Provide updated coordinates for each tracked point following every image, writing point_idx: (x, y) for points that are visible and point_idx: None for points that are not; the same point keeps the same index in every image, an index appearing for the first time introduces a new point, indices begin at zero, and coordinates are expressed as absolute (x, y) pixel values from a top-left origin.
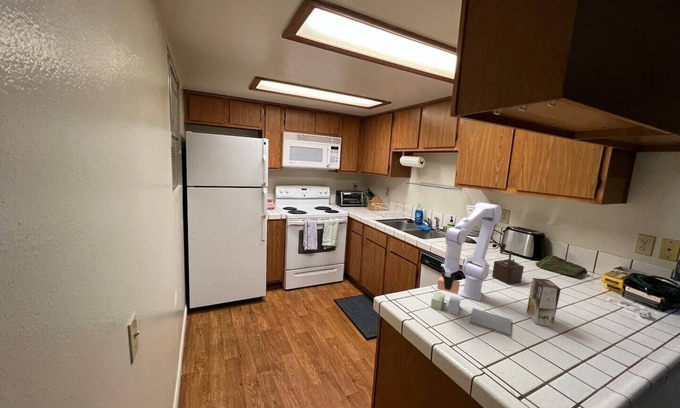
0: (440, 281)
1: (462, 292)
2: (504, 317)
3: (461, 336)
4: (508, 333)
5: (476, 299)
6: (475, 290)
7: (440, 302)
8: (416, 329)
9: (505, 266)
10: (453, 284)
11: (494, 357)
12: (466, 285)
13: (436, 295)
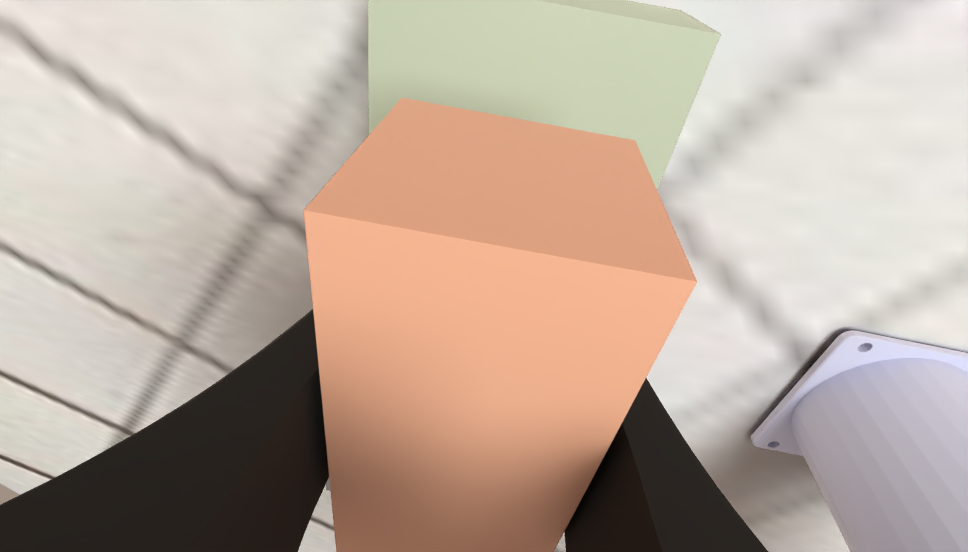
0: (321, 263)
1: (923, 351)
2: None
3: (87, 261)
4: (329, 484)
5: (764, 427)
6: (829, 494)
7: (373, 120)
8: None
9: None
10: (336, 495)
11: (59, 387)
12: (934, 465)
13: (540, 55)
